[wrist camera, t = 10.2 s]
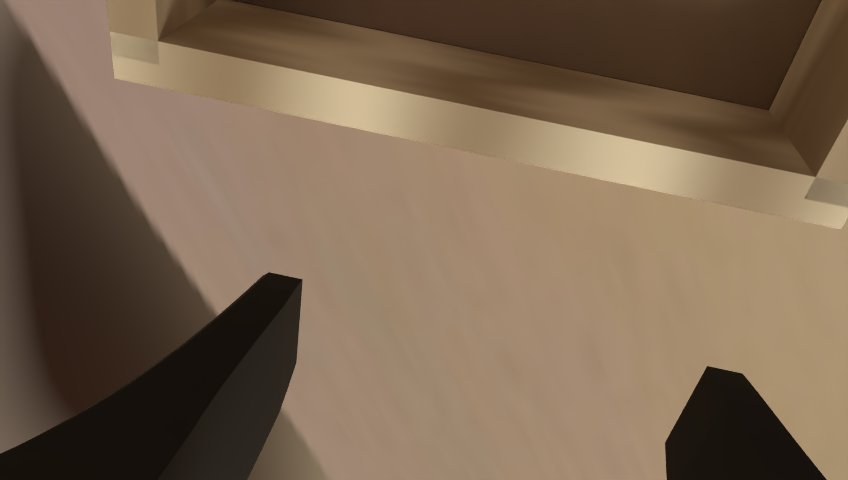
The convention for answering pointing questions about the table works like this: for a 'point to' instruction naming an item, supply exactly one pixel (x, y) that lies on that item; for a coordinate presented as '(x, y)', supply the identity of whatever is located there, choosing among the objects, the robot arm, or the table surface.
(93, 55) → the table surface
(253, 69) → the corral
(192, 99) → the table surface
